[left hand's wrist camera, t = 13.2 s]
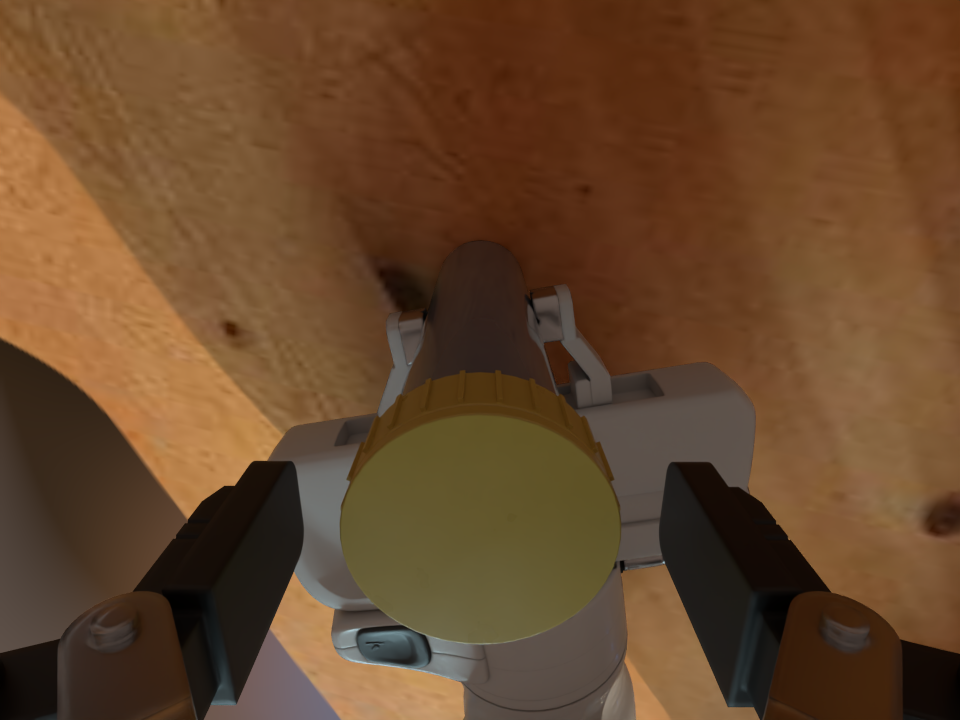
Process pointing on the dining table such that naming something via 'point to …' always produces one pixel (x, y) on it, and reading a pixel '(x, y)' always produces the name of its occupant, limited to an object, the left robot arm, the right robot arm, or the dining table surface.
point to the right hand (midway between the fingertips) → (475, 302)
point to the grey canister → (480, 321)
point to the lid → (480, 510)
